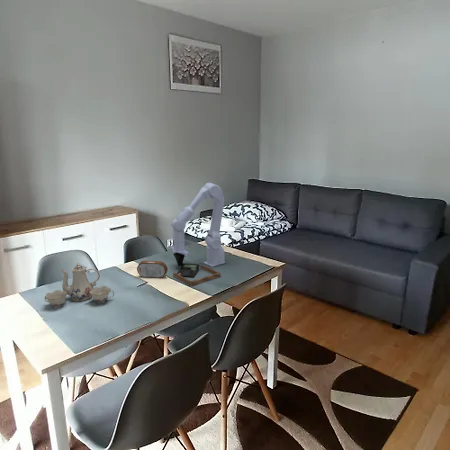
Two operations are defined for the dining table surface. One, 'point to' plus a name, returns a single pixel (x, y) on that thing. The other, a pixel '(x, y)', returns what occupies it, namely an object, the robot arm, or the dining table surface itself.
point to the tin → (152, 269)
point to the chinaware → (78, 288)
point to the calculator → (188, 270)
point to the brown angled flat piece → (201, 280)
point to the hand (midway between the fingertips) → (180, 265)
